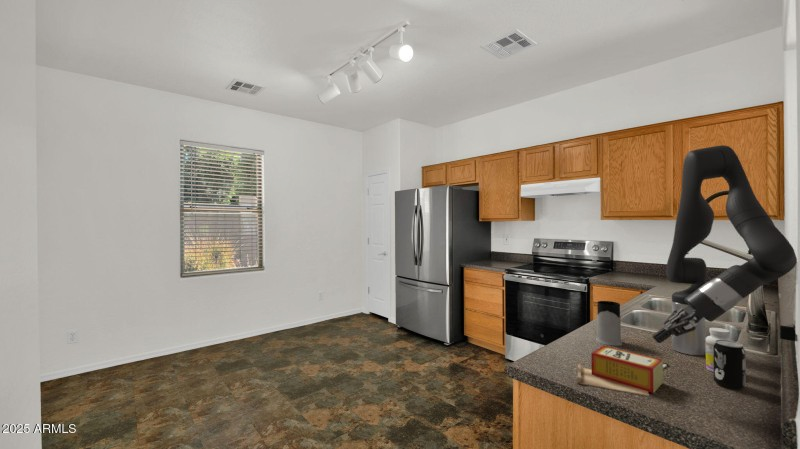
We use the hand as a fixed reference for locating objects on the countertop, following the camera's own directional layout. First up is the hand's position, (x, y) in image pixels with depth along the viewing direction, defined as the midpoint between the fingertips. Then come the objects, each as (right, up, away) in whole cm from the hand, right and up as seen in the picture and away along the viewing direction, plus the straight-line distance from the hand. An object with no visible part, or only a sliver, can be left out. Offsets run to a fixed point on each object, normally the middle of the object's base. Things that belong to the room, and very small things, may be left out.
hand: (655, 339), depth 97 cm
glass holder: (+12, -14, +41) cm, 45 cm away
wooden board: (-9, -14, +6) cm, 17 cm away
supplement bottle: (+28, -14, +12) cm, 33 cm away
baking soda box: (+2, -10, +1) cm, 10 cm away
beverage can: (+22, -14, +2) cm, 26 cm away
